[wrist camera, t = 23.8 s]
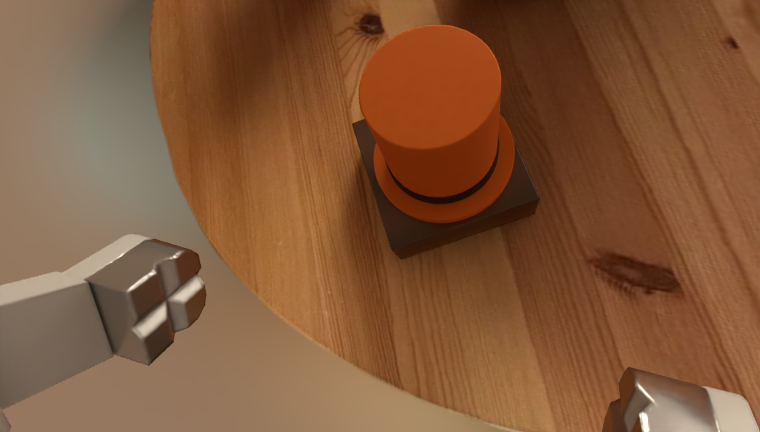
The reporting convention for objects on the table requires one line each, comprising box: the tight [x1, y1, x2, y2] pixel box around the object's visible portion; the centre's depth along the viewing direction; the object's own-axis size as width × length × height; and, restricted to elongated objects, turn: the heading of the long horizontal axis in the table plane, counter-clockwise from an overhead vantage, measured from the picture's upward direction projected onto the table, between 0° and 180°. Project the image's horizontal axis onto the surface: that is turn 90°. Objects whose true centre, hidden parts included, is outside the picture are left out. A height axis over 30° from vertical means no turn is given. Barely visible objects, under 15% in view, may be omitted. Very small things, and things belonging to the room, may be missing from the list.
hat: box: [359, 25, 515, 223], centre depth 24 cm, size 8×8×8 cm
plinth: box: [352, 111, 540, 260], centre depth 29 cm, size 9×9×3 cm
